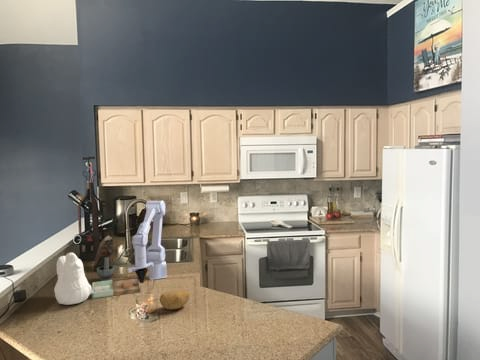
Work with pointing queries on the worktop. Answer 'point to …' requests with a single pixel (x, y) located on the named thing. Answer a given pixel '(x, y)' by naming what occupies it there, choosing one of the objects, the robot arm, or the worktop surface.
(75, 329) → the worktop surface
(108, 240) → the owl
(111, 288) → the tray
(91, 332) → the worktop surface
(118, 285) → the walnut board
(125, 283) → the terracotta tile
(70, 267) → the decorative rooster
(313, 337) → the worktop surface
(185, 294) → the potato
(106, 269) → the mortar and pestle
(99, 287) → the cream tile
